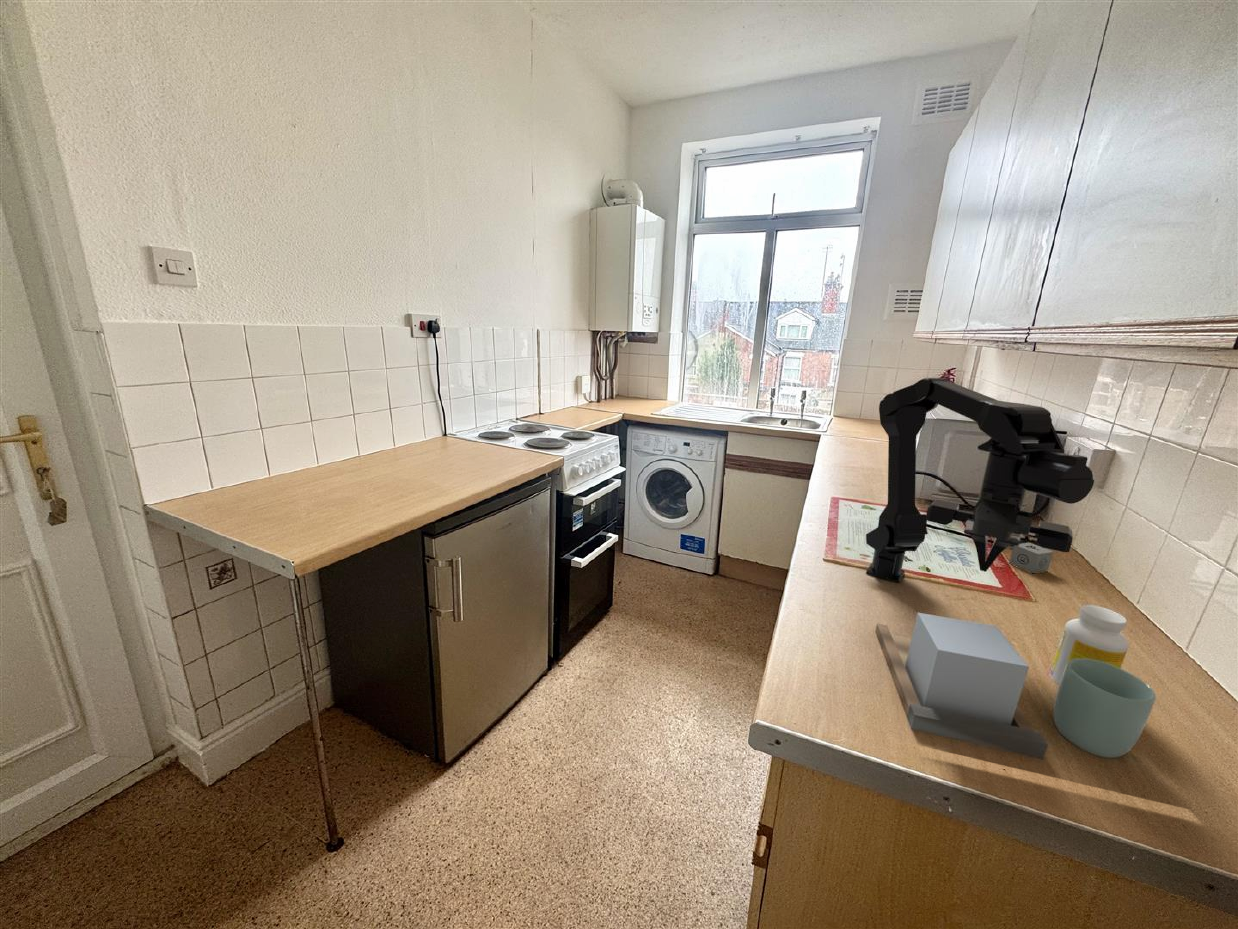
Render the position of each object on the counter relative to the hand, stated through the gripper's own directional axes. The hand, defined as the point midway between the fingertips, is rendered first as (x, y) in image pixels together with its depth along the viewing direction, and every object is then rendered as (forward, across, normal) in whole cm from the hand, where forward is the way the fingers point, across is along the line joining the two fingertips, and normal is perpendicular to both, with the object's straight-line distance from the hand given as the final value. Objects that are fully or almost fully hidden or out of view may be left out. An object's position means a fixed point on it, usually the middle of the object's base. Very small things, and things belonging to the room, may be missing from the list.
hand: (983, 570), depth 81 cm
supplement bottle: (+13, +14, -5) cm, 20 cm away
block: (+12, 0, -22) cm, 25 cm away
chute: (+12, -1, -20) cm, 23 cm away
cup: (+13, +15, -18) cm, 27 cm away
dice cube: (+12, +7, +41) cm, 44 cm away
